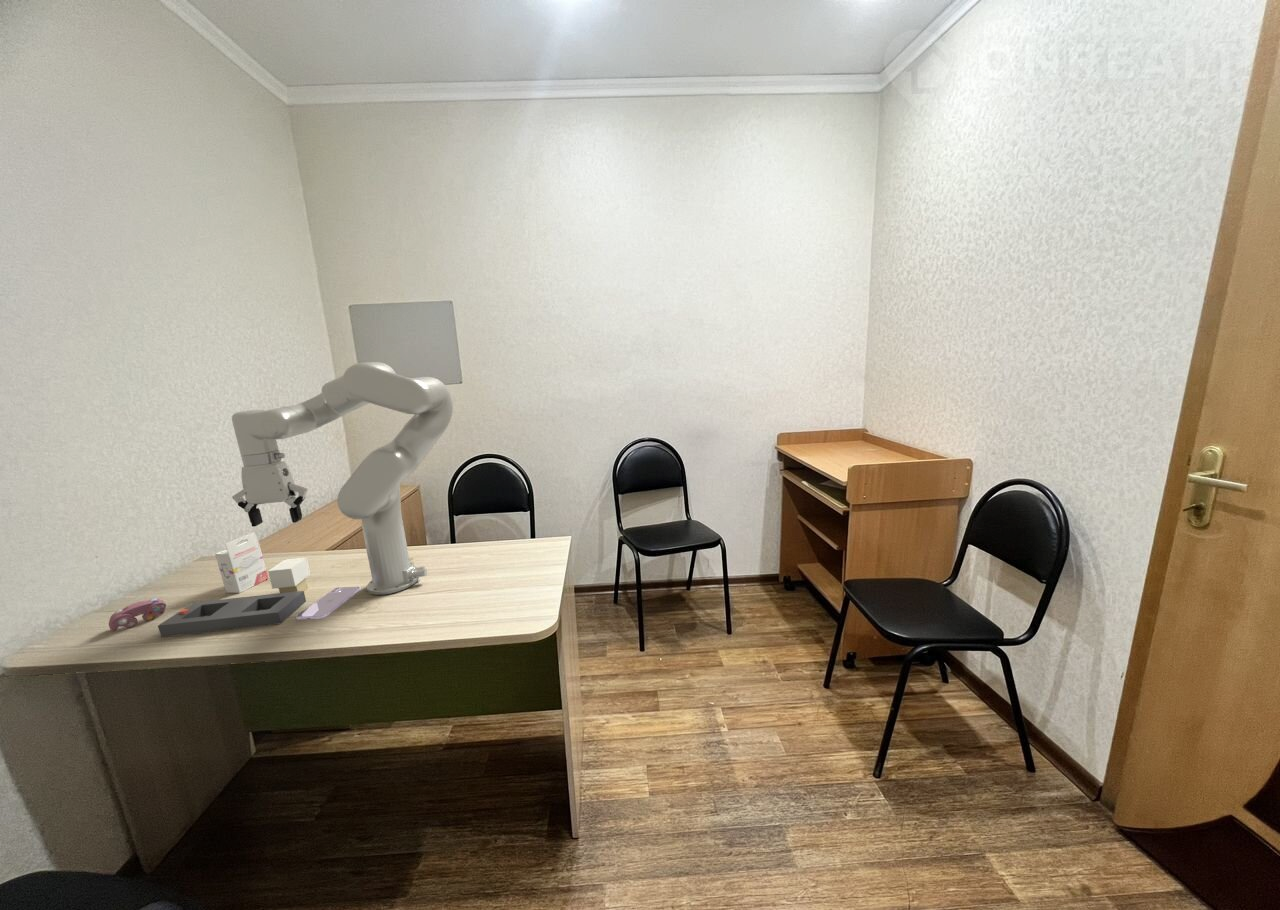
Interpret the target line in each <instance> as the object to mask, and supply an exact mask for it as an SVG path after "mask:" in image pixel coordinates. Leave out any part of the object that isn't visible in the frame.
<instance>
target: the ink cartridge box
mask: <svg viewBox="0 0 1280 910" xmlns="http://www.w3.org/2000/svg"><path fill="white" fill-rule="evenodd" d="M241 541H242V542H241ZM225 547H226V549H224V550H221V551H218V552H216V553H215V554H214V556H215V559H216V562H217V567H218V569H219V573H220V575H221V579H222V582H223V586H224V589H225V593H232V594H241V593H243V592H245V591H247V590H249V589H251V588H253V587H254V586H257V585H259V584H261V583H262V582H264V581H267V580H268V579H269V574H268V571H267V568H266V565H265V560H264V557H263V553H262V549H261V545H260V542H259V540H258V537H257V535H256V532H250V533H249V534H247V535H243V536H240V537H238V538H236V539H234V540H231V541H228V542H226V543H225ZM266 579H267V580H266Z"/></svg>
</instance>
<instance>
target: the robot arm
mask: <svg viewBox="0 0 1280 910" xmlns="http://www.w3.org/2000/svg"><path fill="white" fill-rule="evenodd" d="M368 404H372V405H375V406H378V407H381V408H385V409H389V410H391V411H395V412H398V413H403V414H407V415H413V416H412V417H411V418H410V419H409V420H408V421H407V422H406V423H405V424H404V425H403V427H402V429H401V430H400V431H399V432H398V433H397V435H396V436H395V437H394V438H393V439H392V440H391V441H390V442H389V443H387V444H385V445H383V446H381V447H378V448H376V449H375V450H372V451H371V452H370V453H369V454H368V455H366V456H365V458H364V459H363V460H362V461H361V462H360V464H359V465H358V466H357V468H356V469H355V470H354V472H353V473H352V474H351V475H350V477H349V478H348V479H347V480H346V481H345V483H344V484H343V486H342V487H341V488H340V489H339V492H338V495H337V498H336V499H337V501H336V502H337V506H338V507H337V508H338V509H339V511H340V512H341V514H343V516H345V517H346V518H348V519H351V520H361V527H362V535H363V540H364V544H365V549H366V553H367V555H366V556H367V559H368V564H369V569H370V570H369V571H370V573H371V580H370V581H369V582H368V583H367V586H366V590H367V592H368V593H369V594H372V595H377V596H379V595H381V596H382V595H389V594H394V593H398V592H401V591H403V590H407V589H408V588H410V587H412V586H413V585H415V584H416V583H417V582H418V580H420V579H419V578H420V577H421V578H422V577H427V574H428V570H427V568H426V566H424V565H423V566H418V567H416V566H415V562H414V561H410V557H409V551H408V549H409V548H408V544H407V539H406V533H405V528H404V521H403V515H402V514H403V513H402V505H401V503H402V501H401V500H402V497H401V495H402V494H401V487H400V486H401V485H400V483H401V482H402V481H404V480H405V479H406V478H408V477H410V476H411V475H413V474H414V473H415V471H416V470H417V469H418V467H419V465H421V463H422V462H423V460H425V458H426V457H427V456H428V454H429V453H430V452H431V450H432V449H433V447H434V446H435V445H436V443H437V442H438V440H439V439H440V438H441V437H442V436H443V434H444V433H445V431H446V430H447V429H448V426H449V425H450V422H451V420H452V416H453V412H454V411H453V410H454V406H453V405H454V404H453V398H452V395H451V393H450V391H449V388H448V387H447V386H446V384H445V383H443V382H442V381H441V380H439V379H437V378H436V377H432V376H419V377H413V378H412V377H411V378H410V377H408V376H403V375H401V374H398V373H397V372H396V371H395V370H394V369H393V368H392V367H391V366H390V365H388V364H387V363H384V362H381V361H371V362H369V361H368V362H367V361H365V362H364V361H363V362H357V363H354V364H352V365H351V366H349V367H348V368H346V370H345V371H344V373H343V375H341V376H339V377H336V378H334V379H333V380H330V381H327V382H326V383H324V384H323V385H322V386H321V392H320V393H319V394H317V395H316V396H313V397H311V398H309V399H307V400H304V401H303V402H300V403H297V404H295V405H289V406H287V405H286V406H282V407H278V408H272V409H268V410H267V409H266V410H264V409H252V410H243V411H237V412H234V413H233V414H232V416H231V423H232V426H233V427H232V428H233V430H234V434H235V438H236V441H237V446H238V448H239V453H240V457H241V460H242V461H241V462H242V467H241V484H242V490H240V491H238V492H237V493H235V494H234V495H232V497H231V498H232V499H233V500H234V502H236V504H237V506H239V507H240V508H241V509H243V511H244V512H246V513H247V515H248V519H249V522H250V524H251V527H257V526H260V524H263V517H262V512H261V509H260V508H259V507H258V506H259V505H263V504H264V505H266V504H273V503H274V504H275V503H282V502H284V503H285V504H286V505H288V506H289V509H288V510H289V514H290V519H291V523H294V524H295V523H298V522H299V521H302V518H303V512H302V510H301V505H302V504H303V502H304V500H305V499H306V497H307V493H308V488H306V487H304V486H301V485H298V484H295V481H294V480H295V479H294V478H293V474H292V473H291V470H290V468H289V466H288V464H287V463H286V461H285V460H283V461H282V459H285V456H286V455H285V453H284V452H280V449H279V446H278V442H277V440H284V439H287V438H293V437H296V436H300V435H303V434H306V433H309V432H312V431H314V430H317V429H318V428H321V427H323V426H325V425H327V424H329V423H332V422H334V421H335V420H338V419H340V418H342V417H344V416H346V415H347V414H349V413H351V412H354V411H356V410H358V409H360V408H362V407H363V406H366V405H368Z"/></svg>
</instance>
